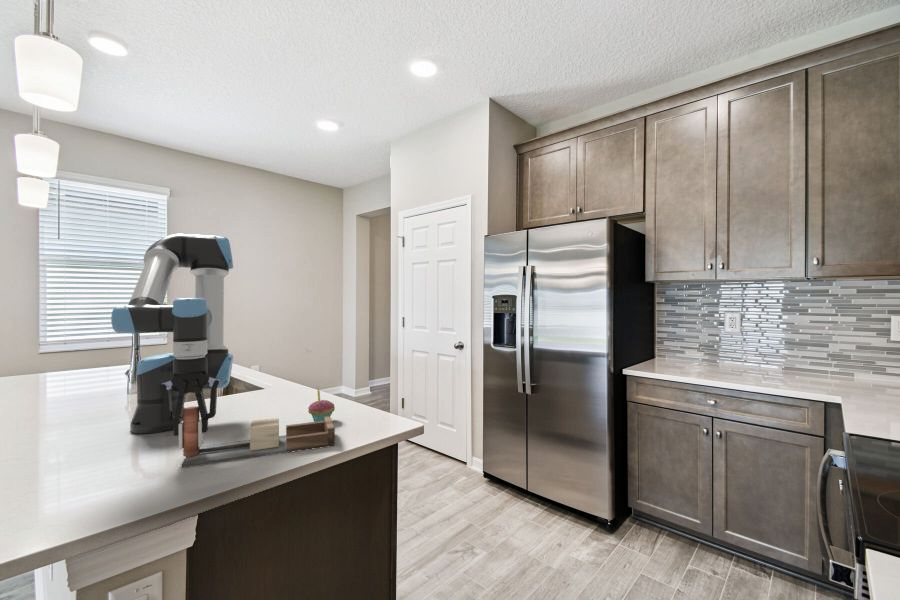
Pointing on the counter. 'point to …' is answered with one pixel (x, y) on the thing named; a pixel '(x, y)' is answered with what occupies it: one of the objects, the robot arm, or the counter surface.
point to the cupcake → (321, 409)
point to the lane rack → (294, 440)
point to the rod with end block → (260, 438)
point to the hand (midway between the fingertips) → (191, 446)
